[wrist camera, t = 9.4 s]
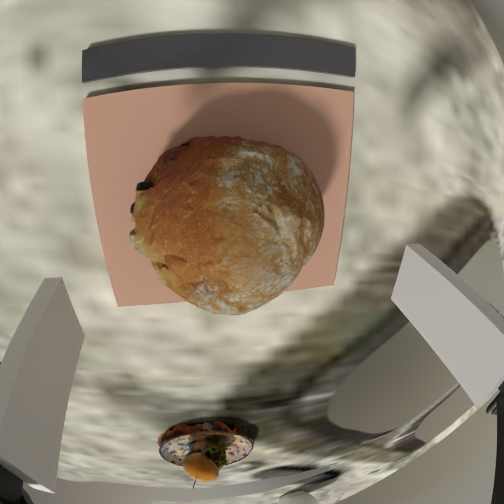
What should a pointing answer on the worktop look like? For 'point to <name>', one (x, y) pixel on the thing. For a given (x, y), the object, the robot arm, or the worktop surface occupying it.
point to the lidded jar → (298, 498)
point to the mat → (214, 124)
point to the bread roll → (227, 221)
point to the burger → (204, 448)
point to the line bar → (216, 55)
